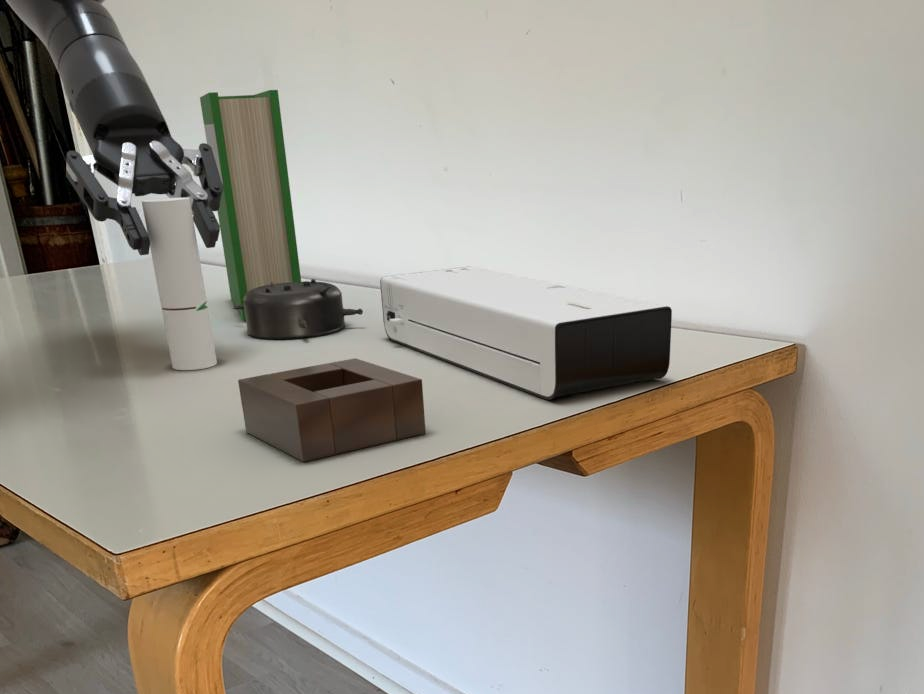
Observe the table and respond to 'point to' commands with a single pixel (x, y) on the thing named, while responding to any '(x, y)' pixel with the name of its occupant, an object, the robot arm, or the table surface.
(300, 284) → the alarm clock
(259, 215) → the hardback book
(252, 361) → the table surface
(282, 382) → the socket block
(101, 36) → the robot arm
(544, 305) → the laminator
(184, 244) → the tube
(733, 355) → the table surface
